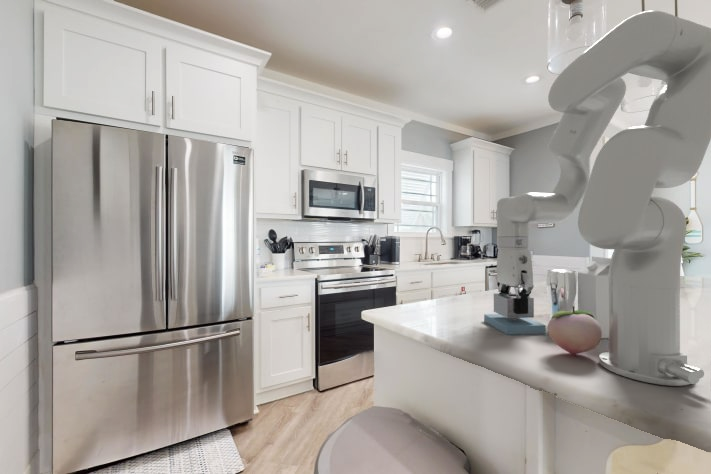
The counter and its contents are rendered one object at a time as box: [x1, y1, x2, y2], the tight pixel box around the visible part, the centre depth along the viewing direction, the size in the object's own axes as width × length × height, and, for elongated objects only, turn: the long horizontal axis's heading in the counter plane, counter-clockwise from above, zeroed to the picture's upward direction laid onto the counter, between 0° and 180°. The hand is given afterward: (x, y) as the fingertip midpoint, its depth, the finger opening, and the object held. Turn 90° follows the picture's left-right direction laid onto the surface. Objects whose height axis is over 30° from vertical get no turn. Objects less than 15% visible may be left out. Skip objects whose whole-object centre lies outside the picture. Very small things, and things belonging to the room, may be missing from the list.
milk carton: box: [577, 256, 611, 339], centre depth 78 cm, size 7×7×19 cm
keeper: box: [483, 296, 547, 335], centre depth 84 cm, size 12×10×8 cm
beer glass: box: [546, 269, 578, 322], centre depth 84 cm, size 7×7×15 cm
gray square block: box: [493, 292, 535, 319], centre depth 84 cm, size 7×7×5 cm
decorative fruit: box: [547, 306, 602, 356], centre depth 64 cm, size 9×8×10 cm
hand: (513, 309), depth 84 cm, fingers closed on gray square block, 6 cm apart
